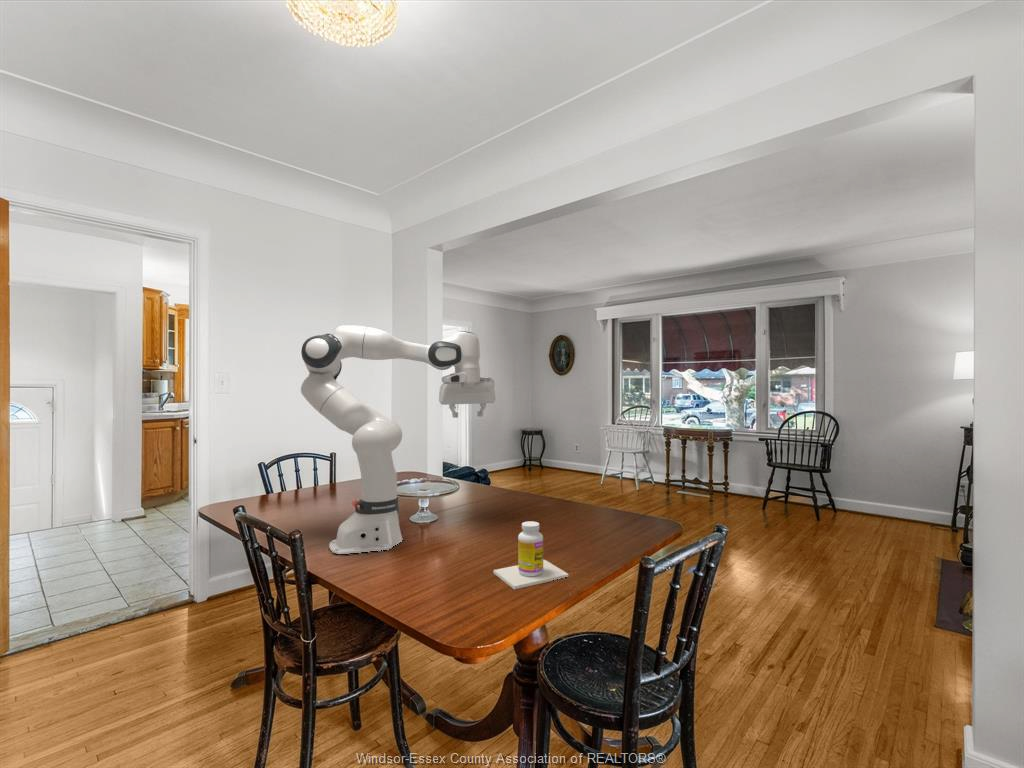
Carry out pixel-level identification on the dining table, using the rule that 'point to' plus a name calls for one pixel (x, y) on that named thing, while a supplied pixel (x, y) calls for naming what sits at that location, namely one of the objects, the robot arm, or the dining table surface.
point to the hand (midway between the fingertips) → (467, 417)
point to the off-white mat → (521, 581)
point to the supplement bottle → (530, 549)
